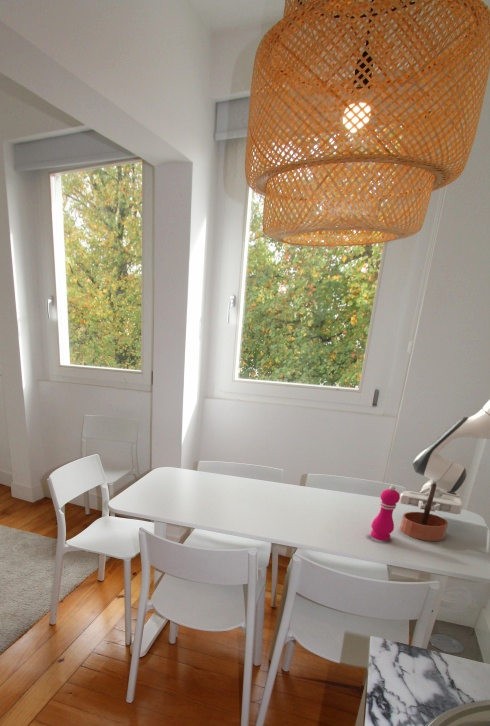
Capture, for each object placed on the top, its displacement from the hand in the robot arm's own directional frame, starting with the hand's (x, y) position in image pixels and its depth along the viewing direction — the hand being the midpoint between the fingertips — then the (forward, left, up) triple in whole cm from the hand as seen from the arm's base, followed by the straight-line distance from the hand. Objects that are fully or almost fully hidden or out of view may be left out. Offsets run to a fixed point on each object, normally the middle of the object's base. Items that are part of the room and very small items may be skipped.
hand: (427, 508), depth 168 cm
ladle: (0, -1, -10) cm, 10 cm away
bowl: (0, -1, -11) cm, 11 cm away
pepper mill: (+12, +12, -11) cm, 20 cm away
